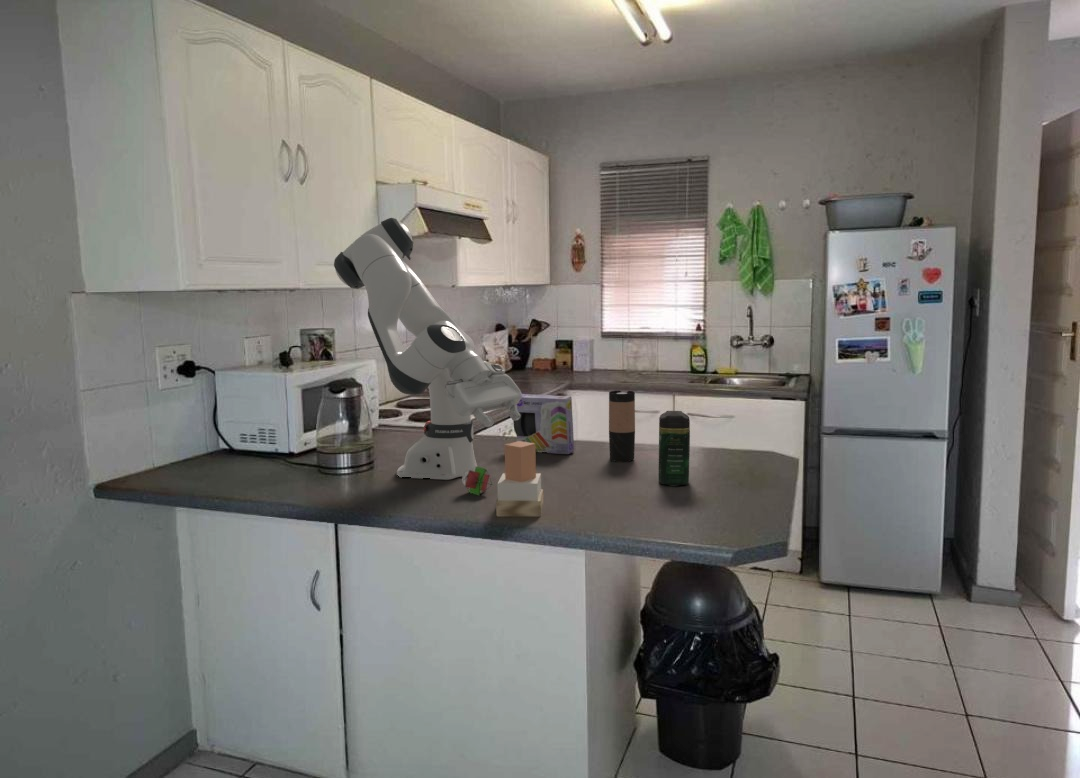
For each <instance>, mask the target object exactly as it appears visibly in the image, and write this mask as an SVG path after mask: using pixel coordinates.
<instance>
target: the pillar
mask: <svg viewBox="0 0 1080 778" xmlns="http://www.w3.org/2000/svg"><path fill="white" fill-rule="evenodd" d="M536 453H537V452H535V443H529V442H522V441H517V440H516V441H513V442H510V443H509V442H508V443H505V444H504V473H505V479H509V480H514V481H519V482H524V481H527V480H530V479H533V478H536V473H537V469H536V468H537V464H536V463H537V462H536V461H537V460H536V455H537V454H536Z"/></svg>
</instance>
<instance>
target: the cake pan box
mask: <svg viewBox="0 0 1080 778" xmlns="http://www.w3.org/2000/svg"><path fill="white" fill-rule="evenodd" d="M572 400H573V399H572V396H570V395H569V396H567V395H565V396H564V395H553V394H552V395H551V394H529V393H522V398H521V400H520V401H519V402H518V403H517V411H518V412H519V413H520V415H521V417H520V418H519V419H518V420H515V421H513V420H512V422H513V430H514V433H515V435H516V442H517V441H522V442H529V443H535V451H536V452H535V453H542V452H547V453H546V454H558V455H569V454H574V453H575V440H574V437H575V436H574V423H573V422H574V421H573V402H572Z"/></svg>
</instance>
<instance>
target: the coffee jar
mask: <svg viewBox="0 0 1080 778" xmlns="http://www.w3.org/2000/svg"><path fill="white" fill-rule="evenodd" d="M690 422H691V421H690V417H689V415H688V414H686V413H684V412H683V411H682V410H666V411H665V412H663V413H661V414H660V415H659V417H658V482H659V483H660V484H661V485H669V486H671V487H678V486H682V485H688V484H689V480H690V456H691V455H690V454H691V453H690V452H691V451H690V448H691V431H690V430H691V427H690V426H691V424H690Z"/></svg>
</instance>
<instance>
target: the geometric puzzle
mask: <svg viewBox="0 0 1080 778" xmlns="http://www.w3.org/2000/svg"><path fill="white" fill-rule="evenodd" d="M473 469H474V468H473ZM468 472H469V474H468ZM467 474H468V475H467ZM490 475H491V474H489V473H488V470H487V468H483V467H479V466H477V467H476V468H475V472H474V471H470V470H469V471H467V472H464V474H463V476H461V478H462V479H461V484H463V486H464V487H465V489H467V491H468V493H469V492H470V494H472V493H473V495H475V496H478V497H480V496H481V495H483V493H485V492H486V491H487V490H488V489H489V487H488V485H490V486H493V482H490V483H489V480H490V477H491V476H490ZM480 491H482V493H481V492H480Z"/></svg>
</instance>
